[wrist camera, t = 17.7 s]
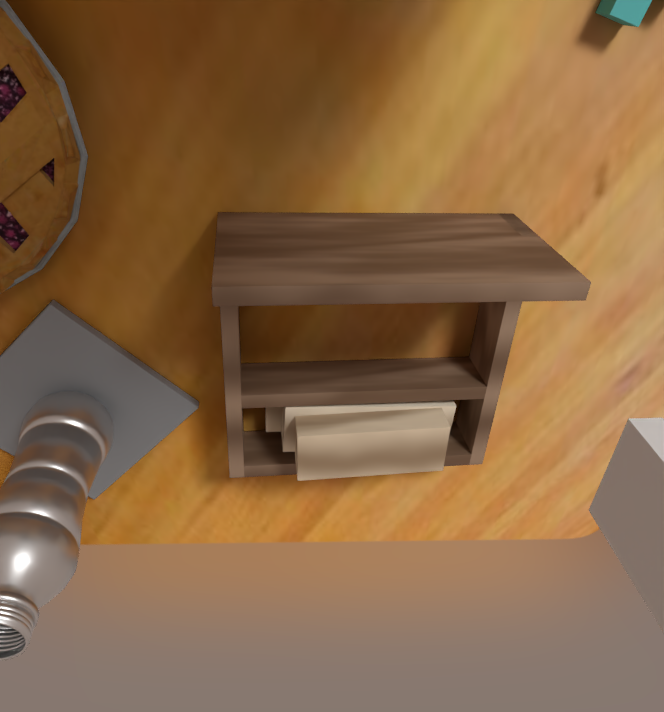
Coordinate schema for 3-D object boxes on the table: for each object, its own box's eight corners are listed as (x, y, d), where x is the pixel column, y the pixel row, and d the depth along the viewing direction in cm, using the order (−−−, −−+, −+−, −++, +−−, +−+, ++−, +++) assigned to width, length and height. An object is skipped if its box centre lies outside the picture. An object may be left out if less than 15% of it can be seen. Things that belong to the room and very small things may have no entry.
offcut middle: (283, 388, 49) (285, 407, 47) (447, 388, 51) (456, 406, 49) (281, 432, 51) (282, 451, 49) (437, 430, 54) (445, 449, 52)
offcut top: (294, 416, 47) (297, 436, 45) (441, 407, 49) (450, 427, 47) (295, 459, 50) (297, 480, 48) (434, 450, 51) (442, 470, 49)
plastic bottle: (95, 455, 51) (27, 687, 35) (16, 421, 49) (-99, 656, 32) (133, 404, 49) (80, 627, 32) (53, 366, 46) (-50, 588, 30)
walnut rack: (218, 212, 42) (211, 286, 32) (513, 213, 45) (591, 282, 35) (230, 442, 54) (228, 550, 44) (466, 431, 57) (514, 530, 47)
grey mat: (-53, 411, 48) (-57, 417, 47) (53, 299, 44) (50, 304, 44) (96, 493, 55) (94, 499, 54) (199, 401, 51) (198, 407, 50)
